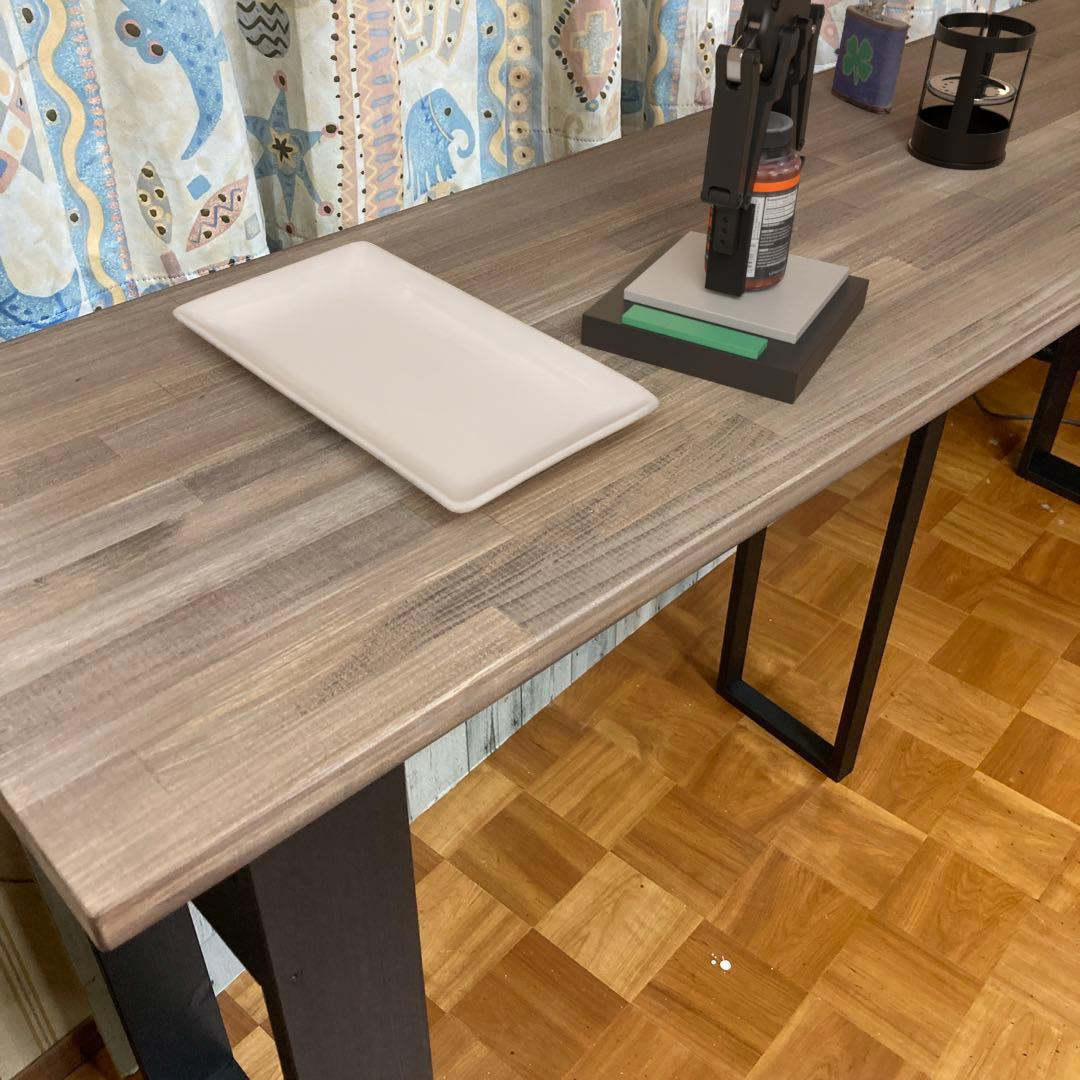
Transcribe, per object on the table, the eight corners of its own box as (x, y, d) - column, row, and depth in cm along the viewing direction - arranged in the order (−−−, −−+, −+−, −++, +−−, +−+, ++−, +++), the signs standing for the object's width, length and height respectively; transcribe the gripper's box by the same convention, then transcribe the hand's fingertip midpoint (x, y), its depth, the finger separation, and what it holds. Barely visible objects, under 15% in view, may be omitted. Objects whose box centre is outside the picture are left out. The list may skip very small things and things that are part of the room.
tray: (459, 558, 62) (456, 507, 60) (174, 348, 80) (164, 303, 78) (664, 443, 71) (668, 396, 69) (367, 278, 89) (363, 236, 87)
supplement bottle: (688, 265, 84) (702, 109, 77) (759, 253, 85) (779, 100, 78) (726, 299, 79) (745, 138, 72) (800, 286, 81) (825, 127, 74)
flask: (896, 112, 121) (918, 5, 115) (874, 116, 121) (895, 8, 114) (844, 87, 128) (861, -15, 121) (823, 91, 127) (839, -12, 120)
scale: (863, 308, 86) (871, 269, 84) (792, 404, 75) (800, 362, 73) (672, 261, 92) (675, 224, 90) (580, 344, 81) (582, 303, 79)
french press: (996, 178, 107) (1071, -96, 92) (897, 162, 110) (954, -106, 96) (1012, 140, 115) (1083, -117, 101) (919, 125, 118) (975, -126, 104)
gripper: (783, -114, 76) (741, 216, 90) (665, -63, 63) (639, 313, 77) (893, -103, 73) (832, 236, 87) (794, -47, 60) (742, 340, 74)
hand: (742, 271), depth 82 cm, fingers closed on supplement bottle, 6 cm apart
